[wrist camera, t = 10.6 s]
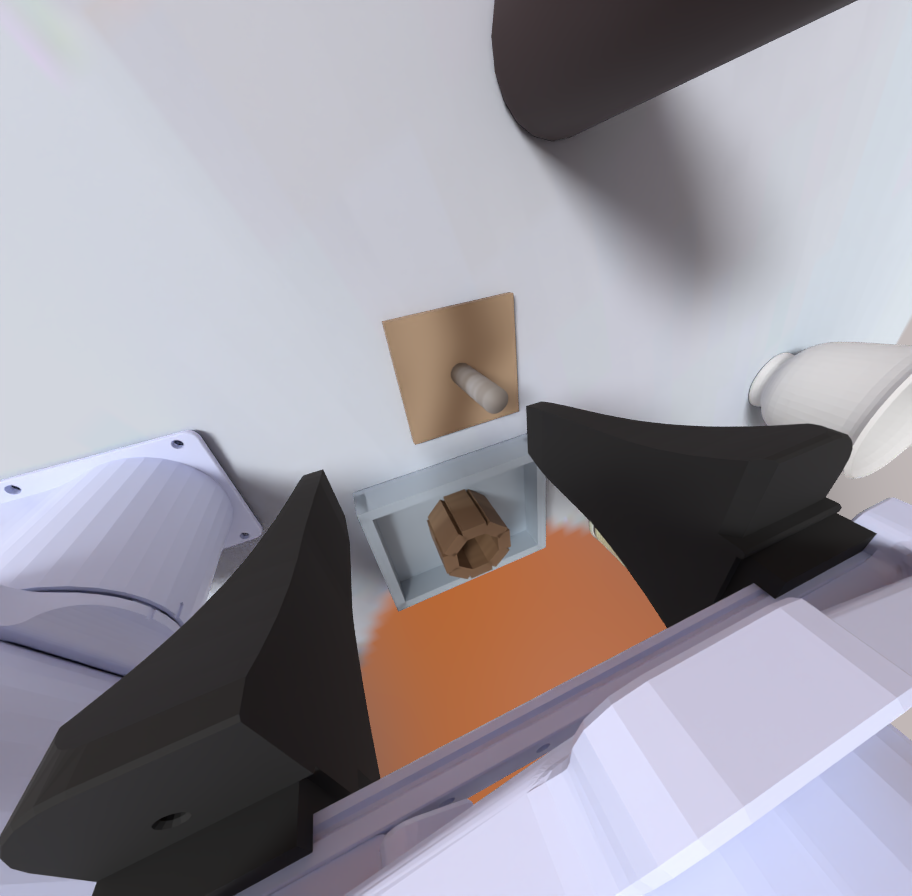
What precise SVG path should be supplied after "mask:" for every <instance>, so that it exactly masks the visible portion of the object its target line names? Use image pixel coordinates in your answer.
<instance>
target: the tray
mask: <svg viewBox="0 0 912 896" xmlns="http://www.w3.org/2000/svg"><path fill="white" fill-rule="evenodd" d="M463 489H465V490H466V491H467V490H468V489H470V490H472V491H475V492H477V493H480V494H482V495H485V497H486V498H487V499H488V501H489V502H490V504H491V505H492V506H493V508H494V509H495V511H496V512H497V513H498V515H499V516H500V518H501V519H502V520H503V522H504V523H505V525H506V526H507V527H508V529H509V530H510V541H511V547H509V551H508V553H507V554H506V555H505V556H504V558H503V559H502V560H501V561H500V563H499V564H498V565H497V566H496V567H494V566H492V568H493V570H495V569H497V568H499V567H502V566H504V565H506V564H508V563H511V562H513V561H515V560H518V559H520V558H522V557H524V556H527V555H529V554H531V553H534V552H536V551H538V550H541V549H543V548H545V547H546V476H545V475H544V474H543V473H542V472H541V470H540V469H539V468H538V466H537V465H536V464H535V462H534V461H533V460H532V458H531V457H530V455H529V454H528V443H527V434H524V435H521V436H518V437H515V438H512V439H510V440H507V441H504V442H501V443H498V444H495V445H492V446H489V447H486V448H483V449H480V450H477V451H474V452H472V453H469V454H466V455H463V456H460V457H457V458H454V459H451V460H448V461H445V462H442V463H439V464H436V465H433V466H431V467H428V468H425V469H422V470H419V471H416V472H413V473H410V474H407V475H404V476H401V477H398V478H395V479H393V480H390V481H387V482H384V483H381V484H378V485H375V486H372V487H369V488H366V489H363V490H360V491H357V492H354V493H353V497H354V504H355V510H356V516H357V518H358V520H359V523H360V525H361V527H362V530H363V532H364V534H365V536H366V539H367V541H368V543H369V546H370V548H371V550H372V552H373V555H374V557H375V559H376V562H377V564H378V566H379V568H380V571H381V573H382V575H383V578H384V580H385V582H386V584H387V587H388V589H389V591H390V593H391V596H392V598H393V600H394V603H395V605H396V607H397V609H398V611H401V610H403V609H405V608H407V607H410V606H412V605H414V604H417V603H419V602H421V601H423V600H426V599H428V598H430V597H433V596H435V595H437V594H440V593H442V592H444V591H446V590H449V589H451V588H453V587H456V586H458V585H460V584H463V583H465V582H467V581H469V580H472V579H474V578H476V577H479V576H481V575H483V574H485V573H483V574H481V575H479V576H476V577H474V578H472V579H471V577H469V578H468V579H464V578H459V577H454V576H449V574H447V572H446V570H445V568H444V565H443V563H442V560H441V558H440V556H439V553H438V551H437V548H436V546H435V544H434V541H433V539H432V537H431V533H430V530H429V526H428V523H427V520H429V519H428V516H429V514H430V513H431V511H432V510H433V508H434V507H435V506H436V504H437V503H438V501H439V500H443V501H444V498H443V497H444V496H447V495H450V494H452V493H455V492H458V491H460V490H463ZM490 571H492V570H490ZM490 571H488V572H490ZM488 572H486V573H488Z"/></svg>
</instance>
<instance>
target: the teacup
mask: <svg viewBox="0 0 912 896" xmlns="http://www.w3.org/2000/svg"><path fill="white" fill-rule="evenodd" d="M749 401H750V403H751V404H752V405H753V406H759V407H761V413H762V417H763V420H764V421H765V423H766V424H767V425H768V426H772V425H789V424H806V423H809V424H816V425H821V426H824V427H827V428H830V429H833V430H836V431H839V432H842V433H845V434H848V435H849V437H850V438H851V440H852V442H853V450H852V452H851V455H850V458H849V460H848V462H847V464H846V465H845V467H844V469H843V472H844V474H845V476H846V477H847V478H849V479H854V478H862V477H865V476H867V475H870V474H872V473H873V472H875V471H877V470H879V469H880V468H882V467H883V466H885V465H886V464H887V463H889V462H890V461H892V460H893V459H894V458H895V457H897V456H898V455H899V454H900V453H901V452H903V451H904V450H905V449H906V448H909V447H911V446H912V346H910V345H894V344H878V343H862V342H830V343H823V344H818V345H815V346H812V347H809V348H807V349H805V350H803V351H802V352H800V353H798V354H797V355H793V354H791V353H781V354H779V355H777V356H775V357H774V358H772V359H771V360H770V361H769V362H768V363H767V364H765V366H764V367H763V368H762V369H761V370H760V372H759V373H758V374H757V376H756V377H755V379H754V381H753V383H752V385H751V388H750V391H749Z"/></svg>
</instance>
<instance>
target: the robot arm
mask: <svg viewBox="0 0 912 896" xmlns="http://www.w3.org/2000/svg"><path fill="white" fill-rule="evenodd" d="M526 410H527V443H528V454H529V455H530V457H531V458H532V460H533V461H534V462H535V464H536V465H537V466H538V468H539V469H540V470H541V472H542V473H543V474H544V475H545V476H546V477H547V478H548V479H549V480H550V481H551V482H552V483H553V484H554V485H555V486H556V487H557V488H558V489H559V490H560V491H561V492H562V493H563V494H564V495H565V496H566V497H567V498H568V499H569V500H570V501H571V502H572V503H573V504H574V505H575V506H576V507H577V508H578V509H579V510H580V511H581V512H582V513H583V514H584V515H585V516H586V517H587V519H588V520H589V521H590V522H591V523H592V524H593V525H594V527H595V528H596V529H597V530H598V532H599V533H600V534H601V535H602V537H603V538H604V539H605V540H606V542H607V543H608V544H609V545H610V547H611V548H612V549H613V551H614V552H615V553H616V555H617V556H618V557H619V559H620V560H621V561H622V563H623V564H624V565H625V567H626V568H627V569H628V571H629V572H630V574H631V575H632V576H633V578H634V579H635V581H636V582H637V584H638V585H639V586H640V588H641V589H642V590H643V592H644V593H645V595H646V596H647V598H648V599H649V601H650V603H651V604H652V606H653V607H654V609H655V610H656V612H657V613H658V614H659V616H660V618H661V619H662V621H663V622H664V623H665V625H666V627H667V629H665V630H663V631H662V632H660V633H658V634H656V635H654V636H652V637H650V638H648V639H646V640H645V641H642V642H641V643H639V644H637V645H635V646H633V647H631V648H629V649H627V650H625V651H623V652H622V653H620V654H618V655H616V656H614V657H612V658H610V659H608V660H606V661H604V662H602V663H600V664H598V665H597V666H595V667H593V668H591V669H589V670H587V671H585V672H583V673H581V674H579V675H577V676H576V677H574V678H572V679H570V680H568V681H566V682H564V683H562V684H560V685H558V686H557V687H555V688H553V689H551V690H549V691H547V692H545V693H543V694H541V695H539V696H537V697H536V698H534V699H532V700H530V701H528V702H526V703H524V704H522V705H520V706H518V707H516V708H515V709H513V710H511V711H509V712H507V713H505V714H503V715H502V716H499V717H497V718H495V719H494V720H492V721H490V722H488V723H486V724H484V725H482V726H480V727H478V728H477V729H475V730H473V731H471V732H469V733H467V734H465V735H463V736H461V737H459V738H457V739H456V740H454V741H452V742H450V743H448V744H446V745H444V746H442V747H440V748H438V749H436V750H434V751H433V752H431V753H429V754H427V755H425V756H423V757H421V758H419V759H417V760H415V761H414V762H412V763H410V764H408V765H406V766H404V767H402V768H400V769H398V770H397V771H394V772H393V773H391V774H389V775H387V776H385V777H383V778H381V779H380V774H379V769H378V764H377V759H376V754H375V748H374V743H373V738H372V733H371V727H370V722H369V716H368V710H367V705H366V699H365V693H364V688H363V682H362V675H361V669H360V663H359V657H358V650H357V643H356V636H355V630H354V623H353V612H352V592H351V564H350V542H349V536H348V530H347V525H346V520H345V515H344V513H343V511H342V509H341V507H340V505H339V503H338V500H337V498H336V496H335V494H334V492H333V490H332V488H331V485H330V483H329V481H328V479H327V477H326V475H325V473H324V470H320V471H317V472H313V473H310V474H307V475H304V476H303V477H302V478H301V480H300V481H299V483H298V484H297V486H296V488H295V489H294V491H293V493H292V494H291V496H290V498H289V499H288V501H287V502H286V504H285V505H284V507H283V509H282V510H281V512H280V513H279V515H278V516H277V518H276V519H275V521H274V522H273V524H272V525H271V526H270V528H269V529H268V531H267V532H266V533H265V535H264V536H263V538H262V539H261V540H260V542H259V543H258V544H257V546H256V547H255V548H254V550H253V551H252V552H251V553H250V555H249V556H248V557H247V558H246V560H245V561H244V562H243V563H242V564H241V565H240V567H239V568H238V569H237V570H236V571H235V572H234V574H233V575H232V576H231V577H230V578H229V579H228V580H227V581H226V582H225V584H224V585H223V586H222V587H221V588H220V589H219V590H218V591H217V592H216V593H215V594H214V595H213V596H212V597H211V598H210V599H209V600H208V601H207V602H206V600H207V597H208V594H209V590H210V587H211V584H212V581H213V578H214V575H215V572H216V568H217V565H218V562H219V559H220V556H221V553H222V550H223V549H226V548H229V547H232V546H234V545H237V544H240V543H243V542H246V541H249V540H252V539H254V538H257V537H259V536H260V535H261V534H262V526H261V525H260V523H259V522H258V520H257V519H256V517H255V516H254V514H253V513H252V511H251V510H250V508H249V507H248V505H247V504H246V502H245V501H244V500H243V498H242V497H241V495H240V494H239V492H238V491H237V489H236V488H235V486H234V485H233V483H232V482H231V480H230V479H229V477H228V476H227V474H226V473H225V471H224V470H223V468H222V467H221V466H220V464H219V463H218V461H217V460H216V458H215V457H214V455H213V454H212V452H211V451H210V449H209V448H208V446H207V445H206V443H205V442H204V440H203V439H202V437H201V436H200V435H199V434H198V433H197V432H195V431H191V430H185V431H181V432H177V433H174V434H170V435H166V436H162V437H159V438H155V439H151V440H147V441H144V442H140V443H136V444H133V445H129V446H125V447H121V448H118V449H114V450H110V451H106V452H103V453H99V454H95V455H92V456H88V457H84V458H80V459H77V460H73V461H69V462H66V463H62V464H58V465H54V466H51V467H47V468H43V469H39V470H36V471H32V472H28V473H25V474H21V475H17V476H13V477H10V478H6V479H2V480H0V896H912V741H911V740H910V739H909V738H907V737H906V736H905V735H904V734H903V733H901V732H900V731H899V730H898V729H897V728H895V727H894V726H893V725H892V724H891V722H892V721H893V720H895V719H896V718H898V717H899V716H900V715H902V714H903V713H904V712H906V711H907V710H908V709H910V708H911V707H912V505H911V504H908V503H906V502H904V501H901V500H899V499H897V498H887V499H885V500H883V501H881V502H879V503H877V504H876V505H873V506H871V507H869V508H867V509H866V510H864V511H862V512H860V513H859V514H858V515H856V516H855V517H854V518H853V519H852V520H849V519H847V518H845V517H843V516H841V515H839V514H837V512H839V511H840V509H841V506H840V504H839V503H837V502H835V501H832V500H830V499H828V498H826V495H827V494H828V492H829V491H830V489H831V488H832V486H833V485H834V483H835V481H836V480H837V478H838V477H839V475H840V474H841V472H842V471H843V469H844V467H845V465H846V464H847V462H848V460H849V458H850V455H851V452H852V450H853V442H852V440H851V438H850V437H849V435H848V434H845V433H842V432H839V431H836V430H833V429H830V428H827V427H824V426H821V425H816V424H809V423H806V424H789V425H772V426H752V427H706V426H686V425H671V424H661V423H652V422H644V421H637V420H630V419H625V418H619V417H614V416H609V415H604V414H599V413H595V412H590V411H586V410H581V409H577V408H573V407H568V406H564V405H559V404H554V403H549V402H539V403H535V404H532V405H529V406H526ZM174 440H179V441H181V442H183V444H184V445H177V444H175V443H174ZM11 485H14V486H17V487H19V488H20V489H21V490H19V489H15V488H13V487H12V486H11ZM242 533H248V534H247V535H243V534H242ZM548 752H549V753H548ZM546 753H547V754H546ZM544 754H546V755H545V756H543V757H541V756H542V755H544ZM539 757H541V758H540V759H539V760H537V761H536V762H534V763H533V764H532V765H530V766H529V767H527V768H526V769H524V770H523V771H521V772H520V773H519V774H517V775H516V776H514V777H513V778H511V779H510V780H509V781H507V782H506V783H505V784H503V785H502V786H500V787H498V788H497V789H496V790H494V791H493V792H491V793H490V794H488V795H487V796H486V797H484V798H483V799H481V800H480V801H478V802H477V803H476V804H475V805H473V803H472V802H471V801H470V800H468V799H467V798H469V797H471V796H472V795H474V794H476V793H478V792H480V791H481V790H483V789H485V788H487V787H488V786H490V785H492V784H493V783H495V782H496V781H499V780H501V779H502V778H504V777H506V776H508V775H509V774H511V773H513V772H515V771H516V770H518V769H520V768H522V767H523V766H525V765H527V764H529V763H530V762H532V761H534V760H536V759H537V758H539Z"/></svg>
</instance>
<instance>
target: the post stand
mask: <svg viewBox="0 0 912 896" xmlns="http://www.w3.org/2000/svg"><path fill="white" fill-rule="evenodd" d="M382 324H383V328H384V331H385V335H386V339H387V343H388V347H389V351H390V354H391V358H392V362H393V366H394V370H395V374H396V377H397V381H398V385H399V389H400V393H401V397H402V400H403V404H404V408H405V412H406V416H407V420H408V424H409V427H410V431H411V435H412V439H413V442H414V444H415V445H416V444H419V443H422V442H425V441H428V440H431V439H434V438H437V437H440V436H444V435H447V434H450V433H453V432H456V431H459V430H462V429H465V428H468V427H471V426H475V425H478V424H481V423H484V422H487V421H490V420H493V419H496V418H499V417H502V416H506V415H509V414H512V413H515V412H518V411H519V405H518V384H517V363H516V342H515V321H514V299H513V293H511V292H508V293H504V294H499V295H495V296H491V297H486V298H482V299H478V300H473V301H469V302H465V303H460V304H456V305H452V306H447V307H443V308H438V309H434V310H430V311H425V312H421V313H417V314H412V315H408V316H404V317H399V318H395V319H391V320H386V321H382Z"/></svg>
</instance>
